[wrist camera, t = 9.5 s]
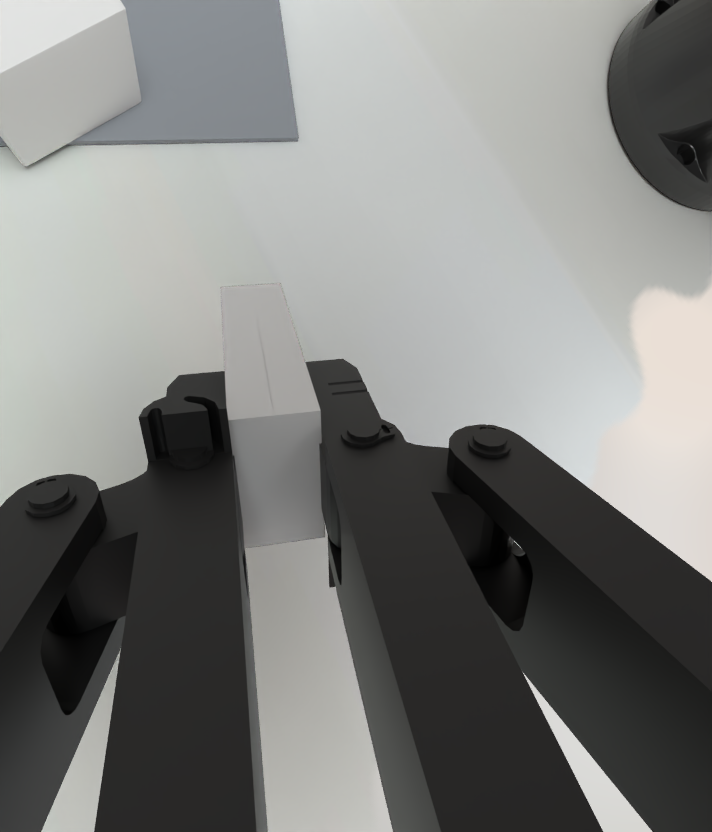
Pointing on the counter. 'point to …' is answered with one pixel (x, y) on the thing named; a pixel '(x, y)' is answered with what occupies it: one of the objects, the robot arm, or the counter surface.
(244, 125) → the mat
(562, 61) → the counter surface
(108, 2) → the milk carton
